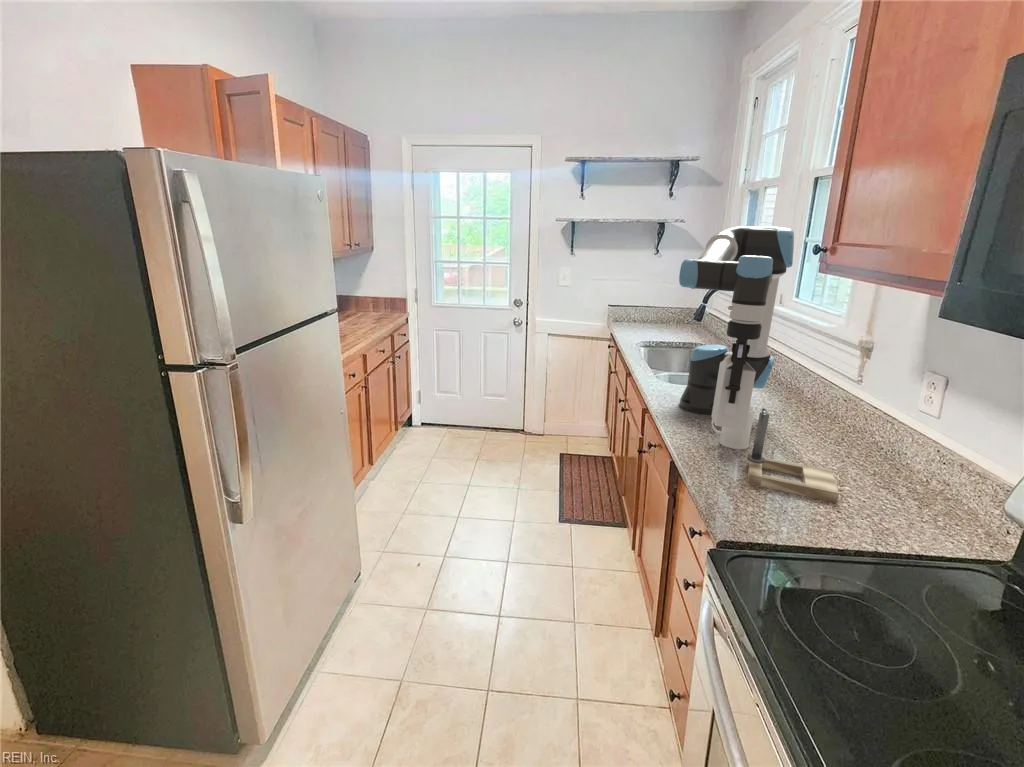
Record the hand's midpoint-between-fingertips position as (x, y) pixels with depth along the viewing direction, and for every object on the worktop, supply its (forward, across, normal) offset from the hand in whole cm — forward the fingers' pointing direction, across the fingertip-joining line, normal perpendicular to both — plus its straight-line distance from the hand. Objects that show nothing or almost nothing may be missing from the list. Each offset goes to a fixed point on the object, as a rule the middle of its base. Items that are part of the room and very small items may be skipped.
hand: (730, 409), depth 130 cm
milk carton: (+4, 0, 0) cm, 4 cm away
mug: (+19, -26, +1) cm, 32 cm away
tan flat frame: (+19, -7, +17) cm, 26 cm away
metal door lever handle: (+19, -12, +9) cm, 24 cm away
